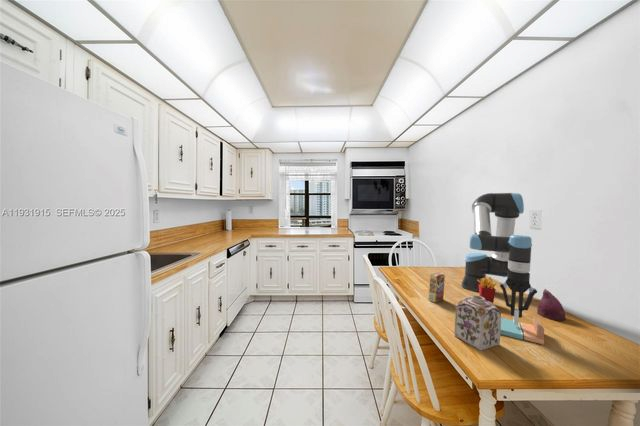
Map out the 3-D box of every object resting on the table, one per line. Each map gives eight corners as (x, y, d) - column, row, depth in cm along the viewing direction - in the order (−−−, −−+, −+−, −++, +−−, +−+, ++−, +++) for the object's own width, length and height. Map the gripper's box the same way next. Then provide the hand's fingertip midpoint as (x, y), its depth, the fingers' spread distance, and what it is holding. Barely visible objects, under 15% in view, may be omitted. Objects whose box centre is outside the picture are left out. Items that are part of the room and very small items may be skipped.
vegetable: (538, 322, 121) (529, 293, 122) (538, 313, 129) (530, 285, 129) (567, 324, 114) (558, 294, 114) (566, 315, 121) (557, 286, 122)
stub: (519, 325, 110) (520, 313, 110) (537, 329, 107) (537, 317, 107) (524, 339, 99) (525, 325, 98) (543, 344, 95) (544, 330, 95)
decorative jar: (453, 335, 101) (455, 293, 100) (471, 330, 106) (473, 290, 105) (482, 352, 90) (484, 305, 89) (501, 345, 95) (503, 300, 94)
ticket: (486, 318, 117) (487, 314, 117) (518, 325, 111) (518, 321, 110) (487, 330, 106) (487, 326, 106) (523, 339, 99) (523, 335, 99)
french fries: (495, 307, 131) (496, 280, 130) (477, 304, 133) (479, 278, 133) (489, 301, 139) (491, 275, 138) (473, 299, 142) (474, 273, 141)
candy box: (435, 303, 135) (436, 276, 134) (428, 300, 138) (429, 274, 138) (444, 299, 140) (445, 273, 139) (437, 297, 143) (438, 272, 142)
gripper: (500, 270, 105) (497, 322, 106) (540, 275, 98) (536, 332, 99) (499, 266, 111) (496, 316, 112) (536, 271, 104) (533, 324, 105)
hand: (515, 323), depth 106 cm, fingers closed
